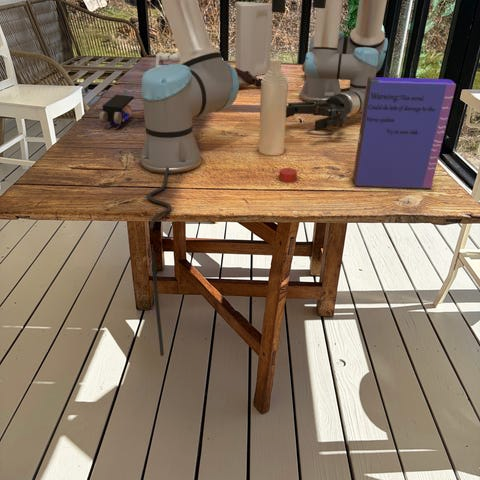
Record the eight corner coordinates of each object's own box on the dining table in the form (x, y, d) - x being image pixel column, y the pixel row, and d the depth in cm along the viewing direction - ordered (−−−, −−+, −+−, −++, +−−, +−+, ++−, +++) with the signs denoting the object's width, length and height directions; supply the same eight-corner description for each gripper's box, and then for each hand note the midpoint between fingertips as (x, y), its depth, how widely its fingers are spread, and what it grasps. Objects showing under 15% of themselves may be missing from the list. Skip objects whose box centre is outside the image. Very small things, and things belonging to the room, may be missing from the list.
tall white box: (273, 76, 210) (276, 6, 196) (239, 77, 209) (240, 6, 194) (266, 67, 226) (268, 2, 212) (235, 67, 225) (235, 1, 210)
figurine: (210, 87, 179) (288, 95, 182) (212, 65, 176) (291, 73, 180) (208, 84, 201) (278, 91, 205) (210, 64, 198) (280, 71, 202)
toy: (175, 75, 210) (174, 58, 206) (151, 64, 228) (150, 49, 224) (222, 69, 222) (222, 53, 218) (195, 59, 239) (195, 45, 236)
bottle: (287, 149, 133) (293, 58, 121) (277, 157, 128) (282, 63, 115) (265, 144, 136) (269, 56, 123) (254, 152, 131) (257, 60, 118)
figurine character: (122, 135, 144) (137, 116, 156) (118, 111, 140) (134, 93, 152) (101, 134, 145) (117, 115, 157) (96, 110, 140) (113, 92, 152)
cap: (292, 174, 118) (293, 167, 117) (299, 181, 114) (299, 173, 113) (276, 176, 117) (277, 168, 116) (282, 183, 113) (283, 175, 112)
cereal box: (425, 180, 115) (449, 78, 103) (430, 188, 111) (456, 83, 99) (352, 177, 116) (367, 76, 104) (355, 186, 112) (371, 81, 100)
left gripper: (281, -131, 76) (274, 16, 87) (363, -116, 91) (348, 7, 102) (246, -127, 80) (244, 12, 91) (330, -113, 96) (319, 5, 107)
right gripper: (374, 127, 141) (331, 144, 129) (309, 109, 157) (264, 122, 144) (378, 102, 138) (334, 117, 125) (311, 86, 153) (265, 97, 140)
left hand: (299, 10), depth 97 cm, fingers open, 13 cm apart
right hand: (296, 120), depth 135 cm, fingers open, 13 cm apart
